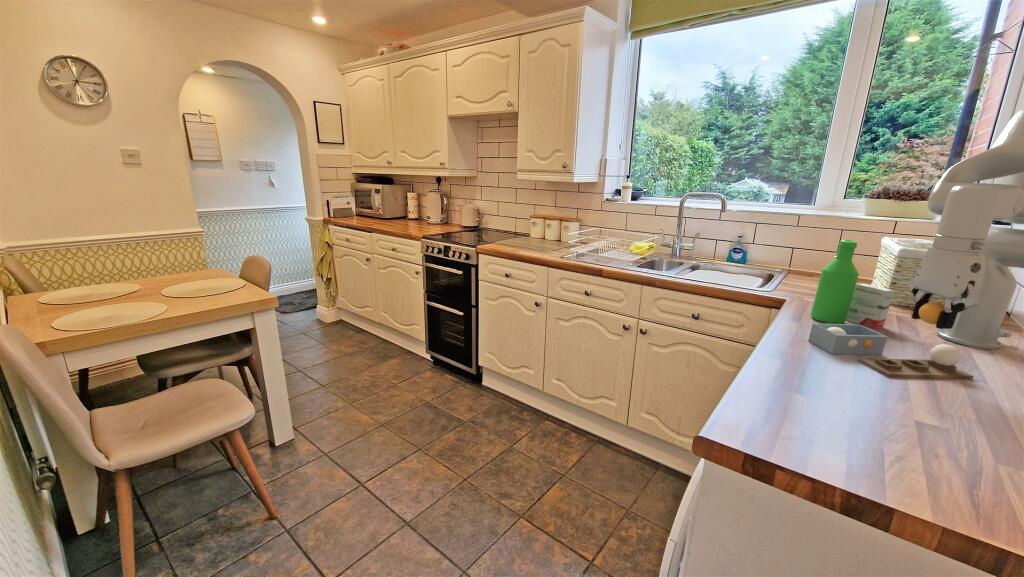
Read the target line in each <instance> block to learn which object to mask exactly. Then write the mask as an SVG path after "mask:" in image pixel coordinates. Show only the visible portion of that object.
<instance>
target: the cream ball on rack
mask: <svg viewBox="0 0 1024 577" xmlns="http://www.w3.org/2000/svg"><path fill="white" fill-rule="evenodd" d="M929 352H930V353H929V354H930V355H929V356H930V358H931V360H933V361H934V362H935V363H937V364H940V365H942V366H952V365H954V366H956V365H957V364H958V363H960V361H961V360H962V353H961V351H960V350H959V349H958V348H957V347H955V346H953V345H951V344H945V343H944V344H937V345H935V346H934V347H933V348H932V349H931V350H930V351H929Z"/></svg>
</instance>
